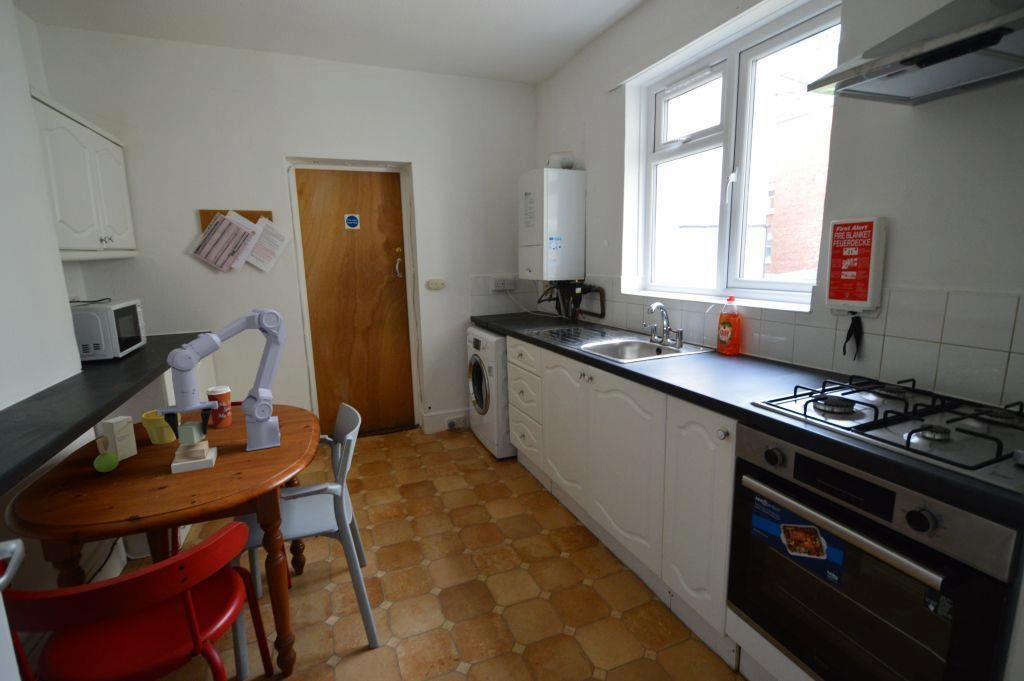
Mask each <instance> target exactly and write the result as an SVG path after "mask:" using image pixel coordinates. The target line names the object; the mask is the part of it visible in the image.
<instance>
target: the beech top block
mask: <svg viewBox="0 0 1024 681" xmlns="http://www.w3.org/2000/svg"><path fill="white" fill-rule="evenodd" d="M209 448H210V445H209V440H204V441H202V440H200V441H198V442H196V443H180V445H179V446H178V448H177V449H176V451H175V453H174V454H175V457H176V462H177V463H180V462H187V461H193V460H200V459H205V458H206V456H207V454H208V452H209Z"/></svg>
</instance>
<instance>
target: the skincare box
mask: <svg viewBox="0 0 1024 681" xmlns="http://www.w3.org/2000/svg"><path fill="white" fill-rule="evenodd" d="M100 423H101V428H102V434H103V435H102V436H106V437H107V438H108V441H109V447H108V453H113V454H115V455H116V456H117V457H118V459H119V462H120V461H122V460H126V459H128V458H130V457H132V456H135V455H137V454H138V450H137V442H136V436H135V431H134V430H135V429H134V422H133V417H132V416H128V415H119V416H116V417H113V418H112V417H111V418H110V419H107V420H104V421H101V422H100Z"/></svg>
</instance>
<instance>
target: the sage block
mask: <svg viewBox="0 0 1024 681" xmlns="http://www.w3.org/2000/svg"><path fill="white" fill-rule="evenodd" d="M177 429H178V436H179V438H178V442H179V444H187V443H196V442H201V441H202V440H203V439H206V435H204V434H203V423H202V420H201V421H193V420H192V421H191V420H190V421H186V422H184V423H182V424H180V426H178V427H177Z"/></svg>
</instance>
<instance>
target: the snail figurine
mask: <svg viewBox="0 0 1024 681" xmlns="http://www.w3.org/2000/svg"><path fill="white" fill-rule="evenodd" d="M94 438H96V444H97V449H98V452H99V455H98V456H97V457H95V459H94V460H93V466H94V468H95V470H96V471H98V472H101V473H108V472H112V471H113V470H114V469H116V468H117V467H118V465H119V462H120V461H119V459H118V457H117V456H116V455H115V454H113V453H108V447H109V441H108V438H107V437H106V436H103V435H101V434H99V435H94Z"/></svg>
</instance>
